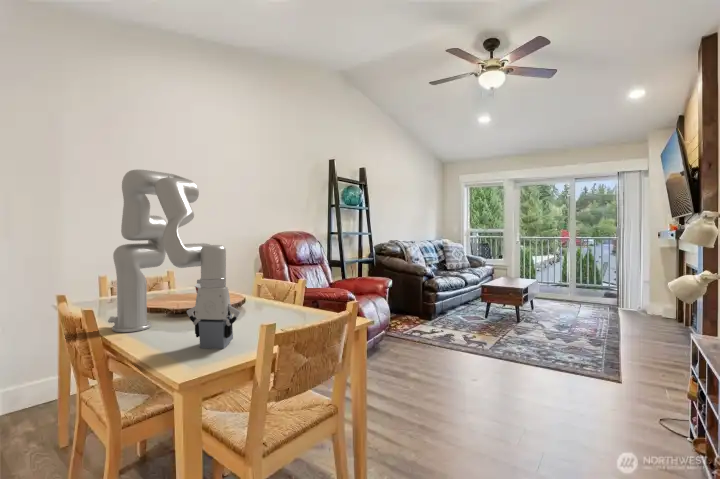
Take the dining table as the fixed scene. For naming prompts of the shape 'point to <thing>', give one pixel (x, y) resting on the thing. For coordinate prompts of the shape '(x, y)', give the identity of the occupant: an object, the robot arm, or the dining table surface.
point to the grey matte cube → (213, 334)
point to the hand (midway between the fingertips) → (213, 336)
